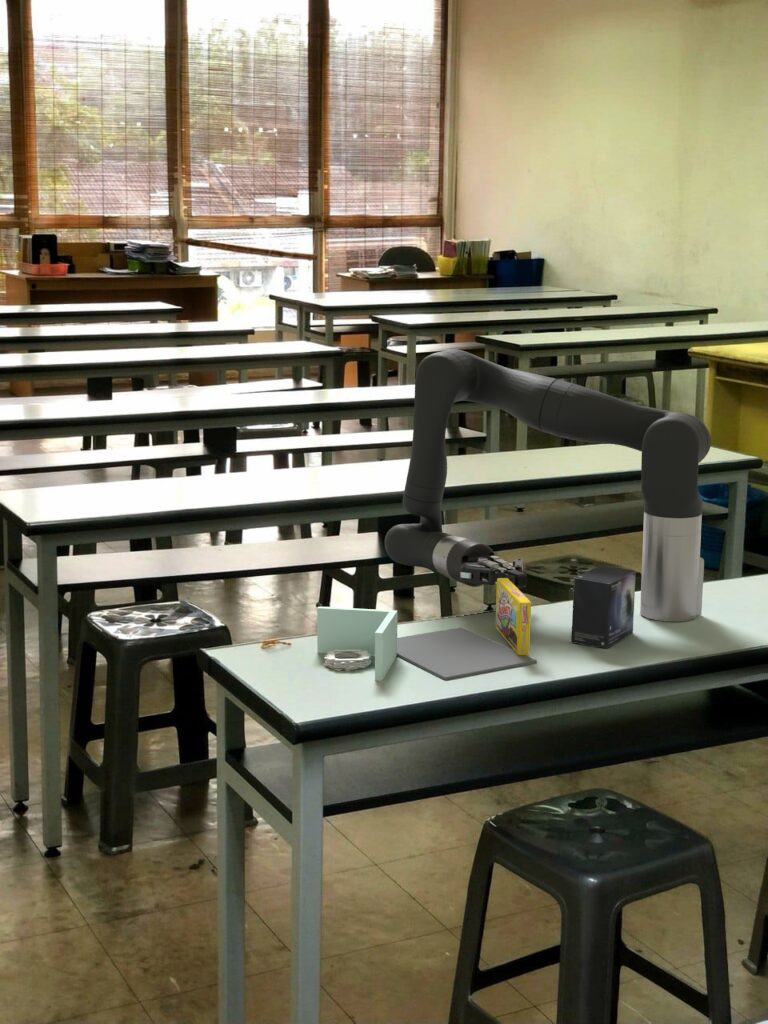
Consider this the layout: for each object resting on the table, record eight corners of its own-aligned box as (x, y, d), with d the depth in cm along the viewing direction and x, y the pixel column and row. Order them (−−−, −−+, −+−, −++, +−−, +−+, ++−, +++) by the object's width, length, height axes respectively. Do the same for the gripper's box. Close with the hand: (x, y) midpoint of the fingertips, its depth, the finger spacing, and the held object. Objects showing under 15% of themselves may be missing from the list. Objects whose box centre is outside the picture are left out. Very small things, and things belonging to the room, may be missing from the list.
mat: (461, 629, 211) (461, 627, 211) (536, 662, 194) (536, 660, 194) (374, 644, 203) (374, 641, 203) (445, 680, 186) (445, 677, 186)
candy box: (493, 628, 212) (496, 577, 210) (506, 628, 212) (509, 577, 210) (515, 655, 196) (519, 601, 194) (530, 656, 196) (534, 601, 195)
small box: (608, 650, 200) (611, 582, 198) (569, 643, 204) (571, 577, 202) (635, 633, 209) (638, 568, 207) (597, 627, 213) (599, 563, 211)
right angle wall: (318, 654, 200) (318, 606, 198) (397, 659, 198) (397, 610, 196) (299, 679, 188) (298, 628, 187) (382, 684, 186) (382, 633, 185)
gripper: (431, 543, 224) (489, 563, 209) (495, 535, 231) (556, 553, 216) (430, 586, 225) (488, 609, 211) (494, 577, 232) (555, 598, 217)
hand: (523, 581), depth 213 cm, fingers closed
